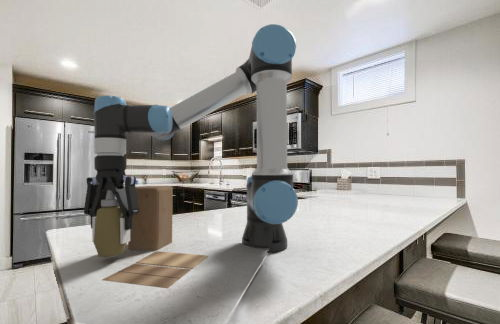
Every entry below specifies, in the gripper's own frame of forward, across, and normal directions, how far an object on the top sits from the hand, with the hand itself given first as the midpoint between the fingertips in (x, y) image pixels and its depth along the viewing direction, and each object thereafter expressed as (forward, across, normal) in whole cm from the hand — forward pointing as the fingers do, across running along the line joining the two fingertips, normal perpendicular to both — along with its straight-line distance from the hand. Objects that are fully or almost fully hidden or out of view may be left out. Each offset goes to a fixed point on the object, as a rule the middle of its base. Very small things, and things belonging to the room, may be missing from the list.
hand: (111, 241), depth 68 cm
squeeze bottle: (+4, 0, 0) cm, 4 cm away
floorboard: (+7, -15, +6) cm, 18 cm away
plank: (+7, -15, -4) cm, 17 cm away
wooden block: (+7, -1, -15) cm, 16 cm away
